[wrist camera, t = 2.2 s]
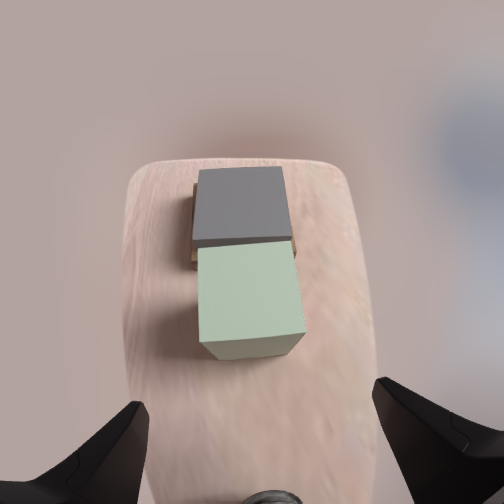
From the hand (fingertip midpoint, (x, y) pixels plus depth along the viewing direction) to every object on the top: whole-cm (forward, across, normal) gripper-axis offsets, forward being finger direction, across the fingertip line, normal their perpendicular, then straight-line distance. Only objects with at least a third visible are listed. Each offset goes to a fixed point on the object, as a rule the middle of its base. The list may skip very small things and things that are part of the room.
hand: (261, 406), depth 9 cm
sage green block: (+13, 0, +4) cm, 13 cm away
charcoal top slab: (+19, 0, -4) cm, 19 cm away
